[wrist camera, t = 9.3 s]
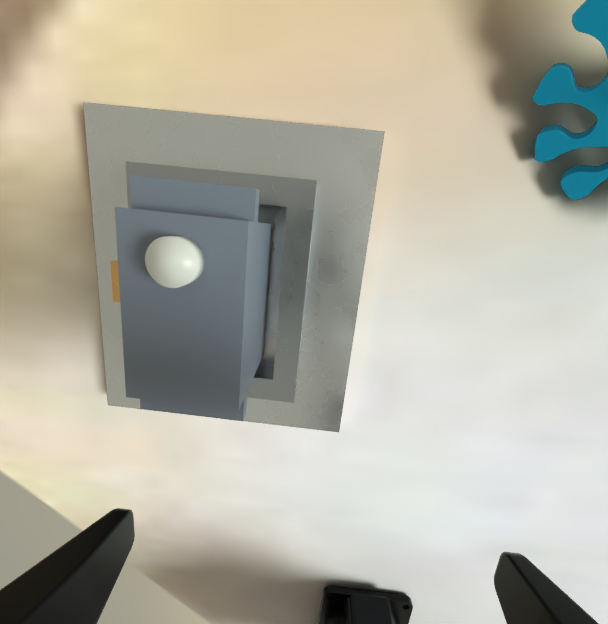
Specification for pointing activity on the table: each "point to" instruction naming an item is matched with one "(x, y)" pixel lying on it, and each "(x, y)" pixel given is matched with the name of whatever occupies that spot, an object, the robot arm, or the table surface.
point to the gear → (598, 99)
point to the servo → (192, 295)
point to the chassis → (272, 209)
